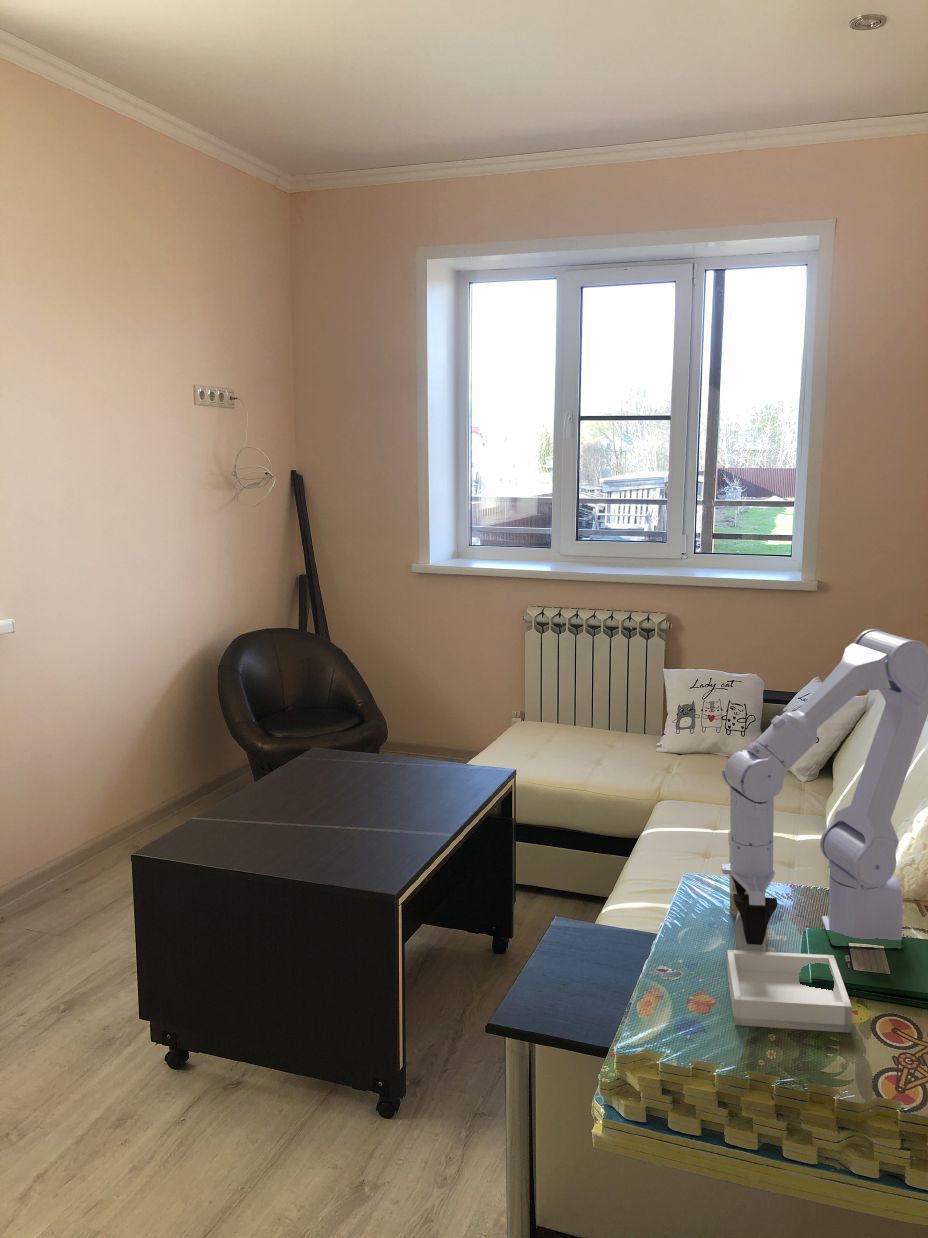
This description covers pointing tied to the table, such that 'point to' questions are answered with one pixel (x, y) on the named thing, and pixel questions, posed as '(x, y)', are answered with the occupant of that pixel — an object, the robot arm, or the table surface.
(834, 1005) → the bin
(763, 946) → the white gable-top carton
